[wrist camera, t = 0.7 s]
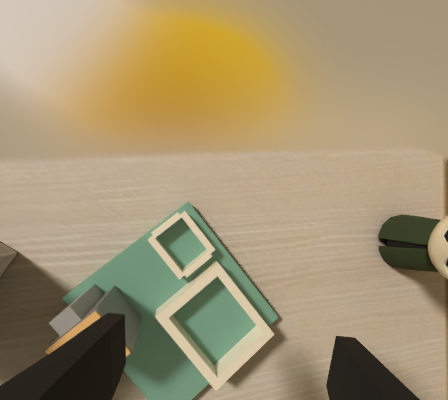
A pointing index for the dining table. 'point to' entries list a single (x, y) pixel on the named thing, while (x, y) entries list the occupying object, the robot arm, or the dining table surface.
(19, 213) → the dining table surface
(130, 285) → the board
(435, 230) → the character mug
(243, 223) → the dining table surface
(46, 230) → the dining table surface
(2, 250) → the coffee box
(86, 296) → the plug
